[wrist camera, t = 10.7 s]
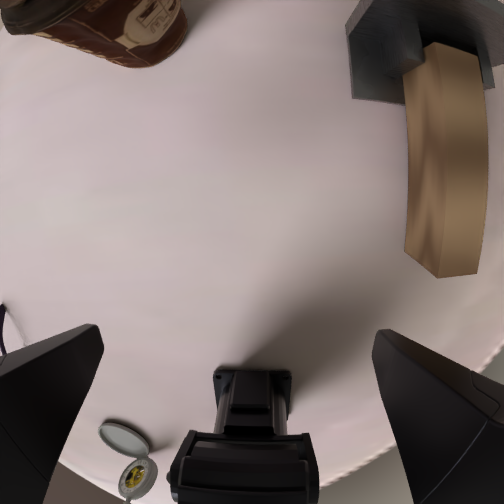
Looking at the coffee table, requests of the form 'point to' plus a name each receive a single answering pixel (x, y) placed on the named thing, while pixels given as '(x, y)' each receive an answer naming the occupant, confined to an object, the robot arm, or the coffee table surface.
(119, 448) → the pocket watch
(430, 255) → the rail
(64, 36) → the coffee cup
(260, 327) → the coffee table surface
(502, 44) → the bracket
